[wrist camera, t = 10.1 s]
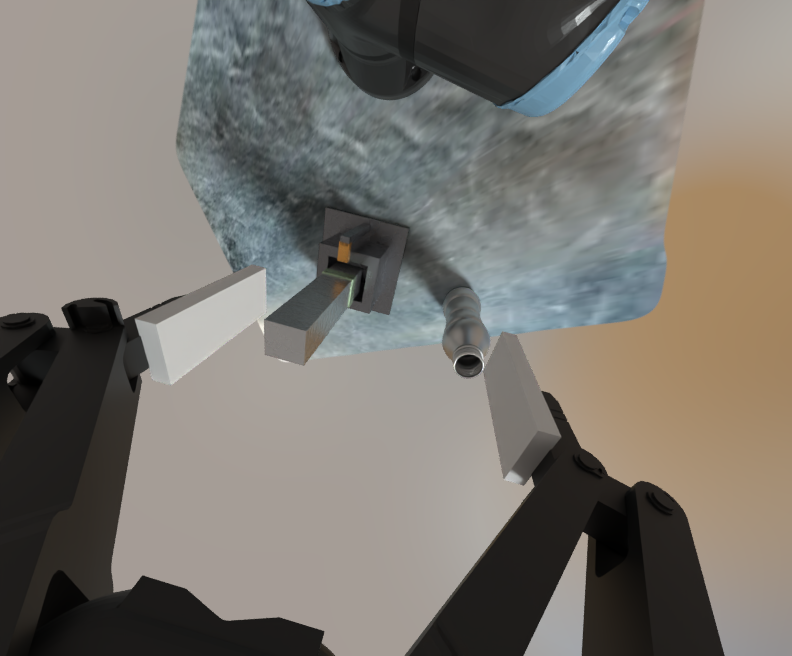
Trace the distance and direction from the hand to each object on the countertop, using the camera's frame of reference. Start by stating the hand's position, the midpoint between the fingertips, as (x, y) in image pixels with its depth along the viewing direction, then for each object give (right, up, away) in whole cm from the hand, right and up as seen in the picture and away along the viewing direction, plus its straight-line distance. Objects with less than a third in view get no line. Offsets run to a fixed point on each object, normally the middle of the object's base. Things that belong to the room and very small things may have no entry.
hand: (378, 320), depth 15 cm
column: (-6, +7, +28) cm, 30 cm away
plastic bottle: (+13, +5, +35) cm, 38 cm away
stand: (-5, +11, +35) cm, 37 cm away
